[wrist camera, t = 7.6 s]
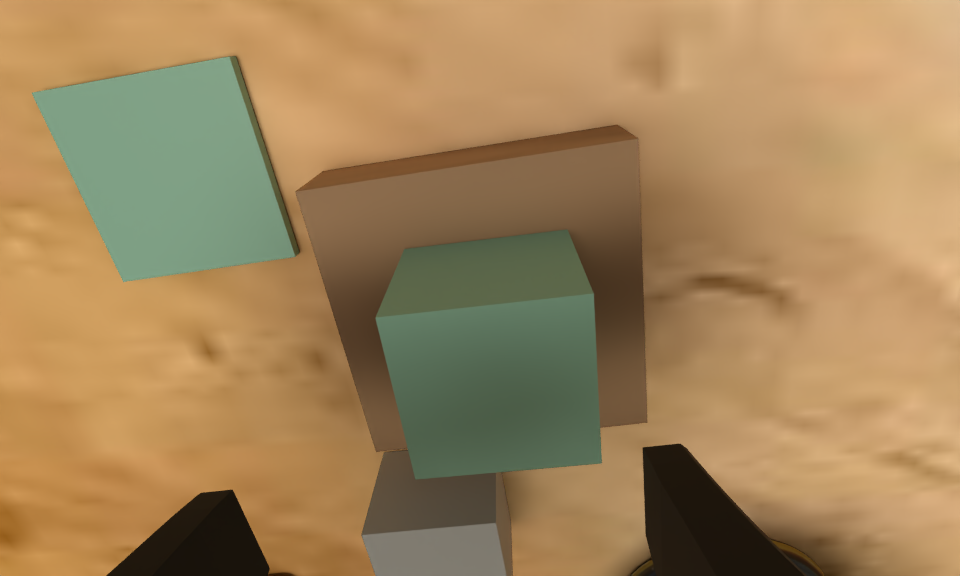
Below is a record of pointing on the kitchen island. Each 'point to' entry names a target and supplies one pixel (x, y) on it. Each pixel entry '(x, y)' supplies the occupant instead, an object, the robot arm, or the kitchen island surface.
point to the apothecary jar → (808, 566)
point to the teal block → (493, 355)
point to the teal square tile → (172, 168)
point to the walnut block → (477, 216)
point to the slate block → (437, 523)
